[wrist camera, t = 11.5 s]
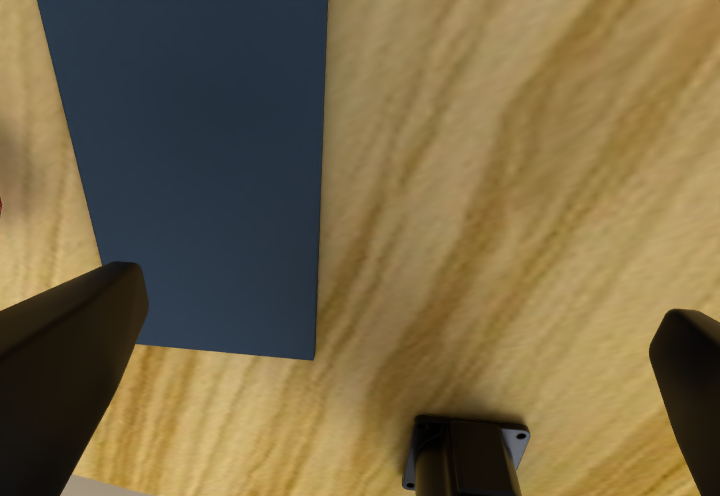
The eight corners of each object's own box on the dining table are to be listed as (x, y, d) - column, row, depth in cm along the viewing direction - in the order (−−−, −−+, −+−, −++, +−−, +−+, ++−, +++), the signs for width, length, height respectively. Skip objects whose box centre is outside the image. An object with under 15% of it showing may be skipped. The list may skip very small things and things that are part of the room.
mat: (315, 353, 25) (313, 361, 25) (126, 335, 25) (120, 343, 25) (329, -49, 16) (328, -49, 15) (29, -76, 16) (17, -77, 15)
